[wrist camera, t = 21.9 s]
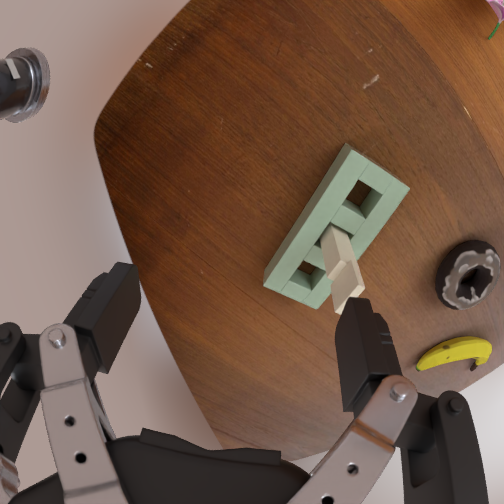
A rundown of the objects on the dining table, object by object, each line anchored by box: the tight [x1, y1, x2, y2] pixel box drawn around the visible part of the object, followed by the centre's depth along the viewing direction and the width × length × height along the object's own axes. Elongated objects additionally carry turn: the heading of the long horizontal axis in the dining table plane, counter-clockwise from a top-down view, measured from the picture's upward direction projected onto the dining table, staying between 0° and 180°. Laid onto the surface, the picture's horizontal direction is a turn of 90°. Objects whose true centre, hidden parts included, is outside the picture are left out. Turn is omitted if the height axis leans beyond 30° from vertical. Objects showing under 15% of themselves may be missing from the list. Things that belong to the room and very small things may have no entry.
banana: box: [416, 336, 492, 371], centre depth 49 cm, size 5×17×15 cm
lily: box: [486, 0, 504, 40], centre depth 17 cm, size 12×12×10 cm
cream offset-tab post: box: [319, 222, 365, 315], centre depth 32 cm, size 2×4×14 cm, turn 154°
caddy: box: [263, 143, 410, 309], centre depth 37 cm, size 8×20×4 cm, turn 154°
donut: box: [436, 240, 501, 310], centre depth 38 cm, size 12×12×4 cm
